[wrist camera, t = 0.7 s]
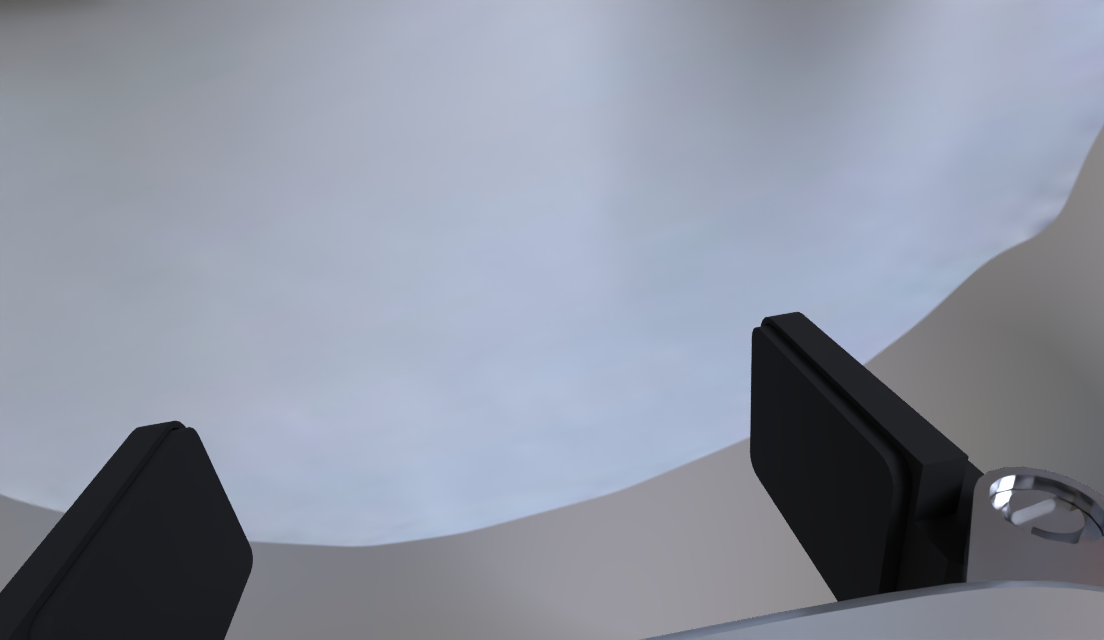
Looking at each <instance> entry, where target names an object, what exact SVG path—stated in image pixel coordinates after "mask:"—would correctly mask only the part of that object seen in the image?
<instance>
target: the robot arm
mask: <svg viewBox="0 0 1104 640" xmlns="http://www.w3.org/2000/svg"><path fill="white" fill-rule="evenodd" d="M750 457H751V462H752V466H753V468H754V471H755V473H756V475H757V477H758V478H759V480H760V481H761V483H762V485H763V486H764V488H765V489H766V491H767V492H768V494H769V495H770V497H771V498H772V500H773V502H774V503H775V505H776V506H777V508H778V509H779V511H780V512H781V514H782V515H783V517H784V519H785V520H786V522H787V523H788V525H789V526H790V528H791V529H792V531H793V533H794V534H795V536H796V537H797V539H798V540H799V542H800V543H801V545H802V546H803V548H804V549H805V551H806V552H807V554H808V556H809V557H810V559H811V560H812V562H813V563H814V565H815V567H816V568H817V570H818V571H819V573H820V574H821V576H822V577H823V579H824V581H825V582H826V584H827V585H828V587H829V588H830V590H831V591H832V593H833V594H834V596H835V598H836V599H837V601H838V602H834V603H828V604H823V605H818V606H812V607H806V608H801V609H795V610H790V611H784V612H778V613H773V614H768V615H763V616H758V617H752V618H748V619H742V620H737V621H732V622H727V623H723V624H717V625H712V626H707V627H702V628H697V629H692V630H686V631H681V632H677V633H671V634H667V635H661V636H656V637H651V638H646V639H641V640H1104V496H1103V495H1101V494H1100V493H1098V492H1097V491H1095V490H1093V489H1092V488H1091V487H1089V486H1087V485H1085V484H1083V483H1081V482H1078V481H1076V480H1074V479H1072V478H1070V477H1067V476H1064V475H1060V474H1057V473H1054V472H1050V471H1047V470H1042V469H1034V468H1027V467H1004V468H1000V469H996V470H993V471H989V472H987V473H986V474H985V475H984V474H983V473H982V472H981V471H980V470H979V469H977V468H976V467H975V466H974V465H973V464H972V463H971V462H969V461H968V456H967V455H966V454H965V453H964V452H963V451H962V450H960V449H959V448H958V447H957V446H956V445H955V444H954V443H952V442H951V441H950V440H949V439H948V438H946V437H945V436H944V435H943V434H942V433H941V432H940V431H938V430H937V429H936V428H935V427H934V426H933V425H931V424H930V423H929V422H928V421H927V420H926V419H924V418H923V417H922V416H920V414H919V413H917V412H916V411H915V410H914V409H913V408H911V407H910V406H909V405H908V404H907V403H906V402H905V401H903V400H902V399H901V398H900V397H899V396H898V395H896V394H895V393H894V392H893V391H892V390H891V389H889V388H888V387H887V386H886V385H885V384H884V383H882V382H881V381H880V380H879V379H878V378H876V377H875V376H874V375H873V374H872V373H871V372H870V371H868V370H867V369H866V368H865V367H864V366H863V365H861V364H860V363H859V362H858V361H857V360H856V359H854V358H853V357H852V356H851V355H850V354H849V353H847V352H846V351H845V350H844V349H843V348H842V347H840V346H839V345H838V344H837V343H836V342H835V341H833V340H832V339H831V338H830V337H829V336H828V335H826V334H825V333H824V332H823V331H822V330H821V329H819V328H818V327H817V326H816V325H815V324H814V323H812V322H811V321H810V320H809V319H808V318H807V317H805V316H804V315H803V314H802V313H800V312H793V313H788V314H782V315H776V316H770V317H765V318H764V319H763V321H762V323H761V327H756V328H754V329H753V332H752V363H751V431H750ZM252 564H253V555H252V550H251V547H250V545H249V542H248V540H247V538H246V536H245V534H244V532H243V529H242V527H241V525H240V523H239V521H238V519H237V517H236V514H235V512H234V510H233V508H232V506H231V504H230V502H229V499H228V497H227V495H226V493H225V491H224V489H223V487H222V484H221V482H220V480H219V478H218V476H217V474H216V472H215V469H214V467H213V465H212V463H211V461H210V459H209V456H208V454H207V452H206V450H205V448H204V446H203V444H202V441H201V439H200V437H199V435H198V433H197V432H196V431H195V430H194V429H193V428H191V427H188V428H186V427H185V426H184V425H183V424H182V423H181V422H178V421H171V422H165V423H160V424H154V425H148V426H142V427H138V428H136V429H135V430H134V431H133V432H132V433H131V434H130V435H129V436H128V438H127V439H126V440H125V441H124V443H123V444H122V445H121V446H120V447H119V449H118V450H117V451H116V452H115V453H114V455H113V456H112V457H111V458H110V460H109V461H108V462H107V463H106V464H105V466H104V467H103V468H102V469H101V471H100V472H99V473H98V474H97V475H96V477H95V478H94V479H93V480H92V482H91V483H90V484H89V485H88V486H87V488H86V489H85V490H84V491H83V493H82V494H81V495H80V496H79V497H78V499H77V500H76V501H75V502H74V504H73V505H72V506H71V507H70V508H69V510H68V511H67V512H66V513H65V514H64V516H63V517H62V518H61V519H60V521H59V522H58V523H57V524H56V525H55V527H54V528H53V529H52V530H51V532H50V533H49V534H48V535H47V537H46V538H45V539H44V540H43V541H42V543H41V544H40V545H39V546H38V547H37V549H36V550H35V551H34V552H33V554H32V555H31V556H30V557H29V558H28V560H27V561H26V562H25V563H24V565H23V566H22V567H21V568H20V569H19V571H18V572H17V573H16V574H15V575H14V577H13V578H12V579H11V580H10V582H9V583H8V584H7V585H6V587H5V588H4V589H3V590H2V591H1V593H0V640H224V638H225V636H226V633H227V631H228V628H229V626H230V623H231V621H232V618H233V616H234V613H235V611H236V608H237V605H238V603H239V601H240V598H241V595H242V593H243V590H244V588H245V585H246V583H247V580H248V578H249V575H250V573H251V569H252Z"/></svg>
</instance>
